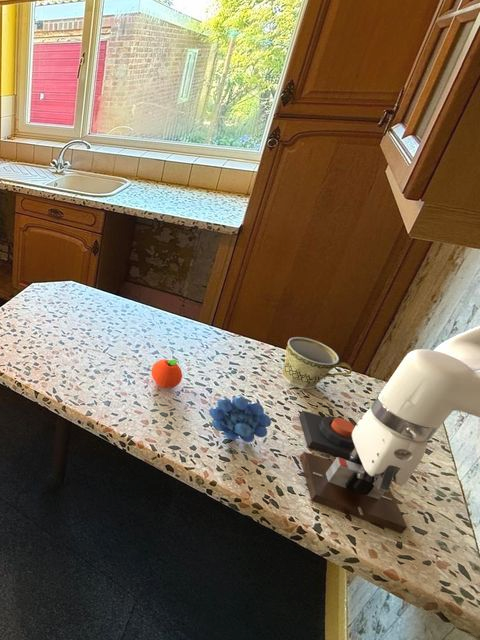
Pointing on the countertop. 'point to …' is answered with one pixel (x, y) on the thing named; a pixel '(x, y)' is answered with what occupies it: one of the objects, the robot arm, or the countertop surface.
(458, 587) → the countertop surface
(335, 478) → the grey block
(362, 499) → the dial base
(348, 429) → the button
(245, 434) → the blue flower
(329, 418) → the button box
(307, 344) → the ceramic cup
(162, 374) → the clementine
